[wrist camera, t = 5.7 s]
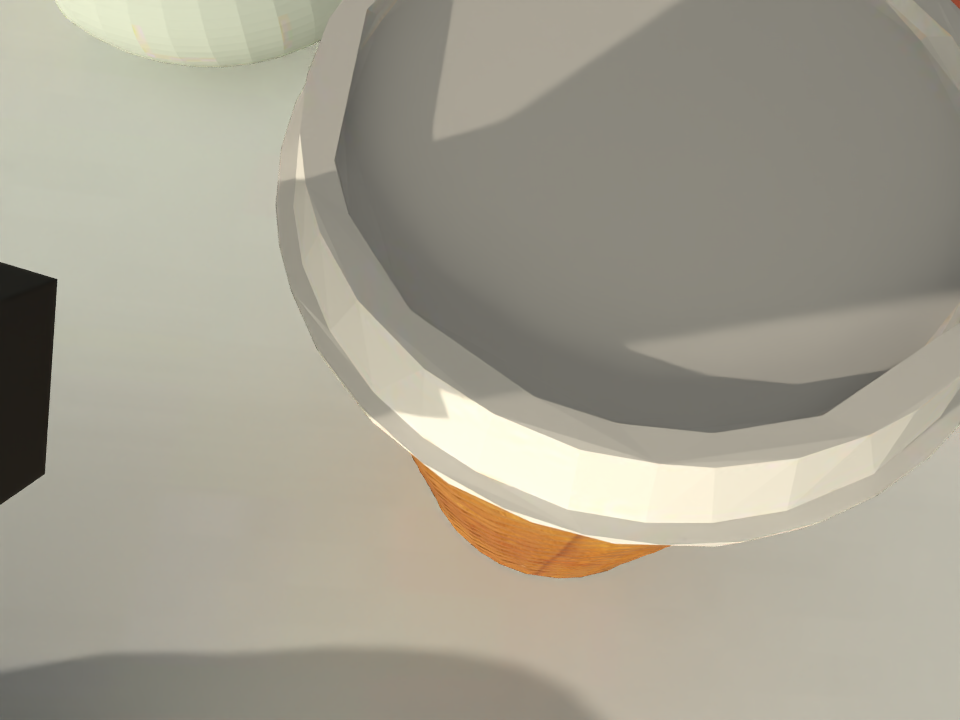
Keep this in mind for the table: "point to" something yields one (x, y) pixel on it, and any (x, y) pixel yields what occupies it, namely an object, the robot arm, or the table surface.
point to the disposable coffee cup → (635, 258)
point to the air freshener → (203, 28)
